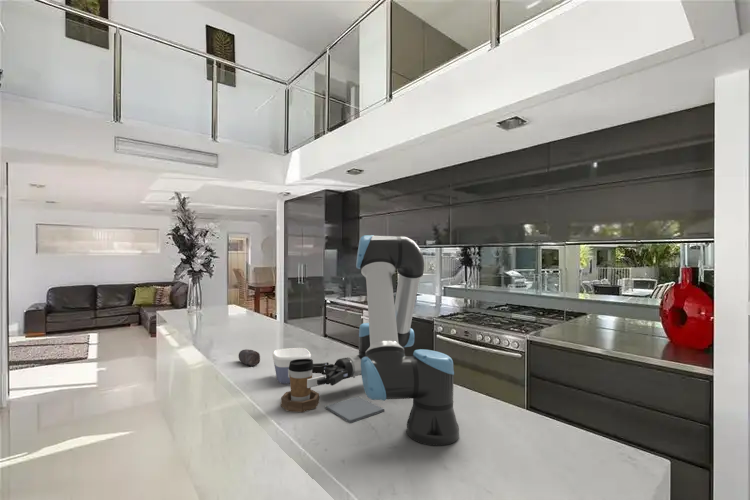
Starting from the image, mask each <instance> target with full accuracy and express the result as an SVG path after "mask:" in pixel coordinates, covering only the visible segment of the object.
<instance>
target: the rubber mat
mask: <svg viewBox="0 0 750 500" xmlns="http://www.w3.org/2000/svg"><path fill="white" fill-rule="evenodd" d="M324 408H325V410H328V411H329V412H331V413H333V414H334V415H336V416H338V417H339V418H341V419H342V420H344V421H346V422H347V423H350V424H351V423H354V422H358V421H359V420H363V419H366V418H369V417H371V416H374V415H378V414H380V413H383V412H385V408H384V407H381V406H379V405H377V404H375V403H373V402H371V401H369V400H367V399H364V398H363V397H360V396H355V397H351V398H348V399H345V400H341V401H338V402H335V403H331V404H328V405H325V407H324Z"/></svg>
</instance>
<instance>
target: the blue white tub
mask: <svg viewBox="0 0 750 500" xmlns="http://www.w3.org/2000/svg"><path fill="white" fill-rule="evenodd" d="M311 357H312V354H311V352H310V351H309V350H308V349H307V348H305V347H294V348H293V347H291V348H289V347H288V348H279V349H275V350H274V351H273V352H272V360H273V365H274V371H275V375H276V380H277V381H278V382H279V383H280V384H281V385H282V384H283V385H287V384H290V377H288V369H289V365H290V361H292V360H296V359H311Z"/></svg>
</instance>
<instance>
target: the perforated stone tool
mask: <svg viewBox="0 0 750 500" xmlns="http://www.w3.org/2000/svg"><path fill="white" fill-rule="evenodd" d="M238 360H239V361H240V363H241V364H242V363H243V365H246V366H251V367H253V366H258V365H259V364H260V362H261V355H260V353H259V352H258V351H255V350H253V349H247V348H246V349H242V350H240V351H239V352H238Z"/></svg>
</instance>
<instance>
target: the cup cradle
mask: <svg viewBox="0 0 750 500" xmlns="http://www.w3.org/2000/svg"><path fill="white" fill-rule="evenodd" d="M319 404H320V393H318V391H315V390H313V389H311V391H310V400H306V401H303V402H302V401H291V390H289V391H286V392H284V394H283V395H282V396H281V398H280V407H281V408H282V409H284V410H285V411H287V412H296V413H304V412H308V411H310V410H314V409H317V407H318V405H319Z"/></svg>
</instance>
